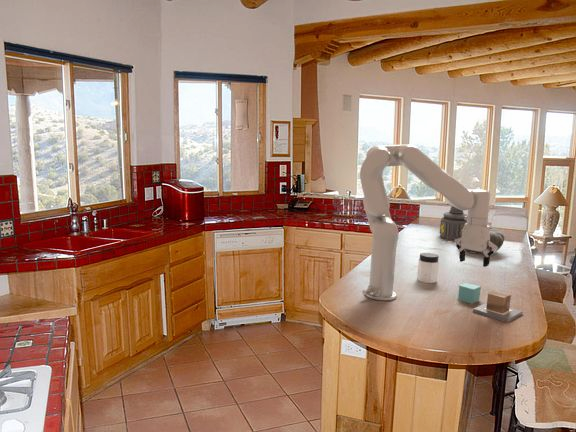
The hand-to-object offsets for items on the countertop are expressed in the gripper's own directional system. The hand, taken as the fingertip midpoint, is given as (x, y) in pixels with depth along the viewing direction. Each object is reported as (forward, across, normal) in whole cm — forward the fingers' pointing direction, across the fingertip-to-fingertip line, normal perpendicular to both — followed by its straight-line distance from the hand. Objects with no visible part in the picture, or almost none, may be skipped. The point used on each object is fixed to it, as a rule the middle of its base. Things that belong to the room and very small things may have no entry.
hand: (473, 263), depth 191 cm
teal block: (+15, -1, -1) cm, 15 cm away
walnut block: (+14, +13, -6) cm, 20 cm away
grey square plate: (+15, +13, -6) cm, 21 cm away
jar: (+15, -26, +9) cm, 31 cm away
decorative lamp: (+16, -68, +111) cm, 131 cm away
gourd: (+16, -38, +86) cm, 96 cm away
